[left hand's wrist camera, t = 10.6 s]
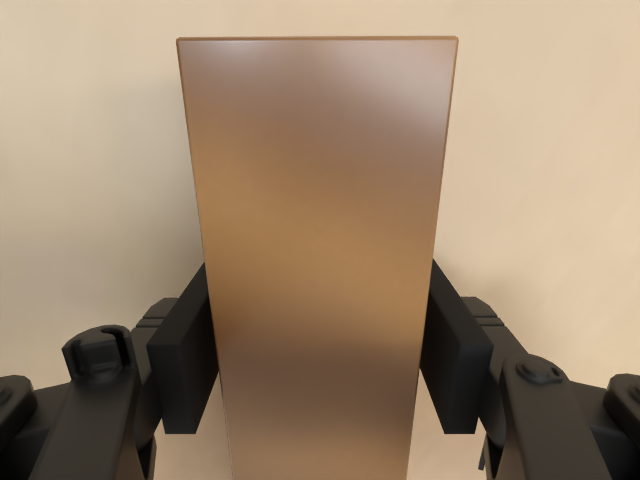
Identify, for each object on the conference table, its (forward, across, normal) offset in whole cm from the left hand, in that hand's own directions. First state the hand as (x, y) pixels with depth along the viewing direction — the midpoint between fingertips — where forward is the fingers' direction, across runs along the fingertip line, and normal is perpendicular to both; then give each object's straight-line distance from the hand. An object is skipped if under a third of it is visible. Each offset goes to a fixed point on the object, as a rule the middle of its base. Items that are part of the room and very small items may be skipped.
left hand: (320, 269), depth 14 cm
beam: (+2, 0, -34) cm, 34 cm away
